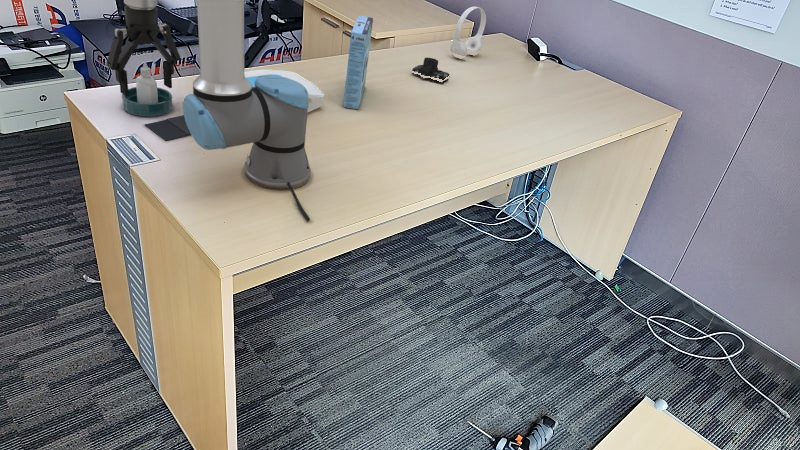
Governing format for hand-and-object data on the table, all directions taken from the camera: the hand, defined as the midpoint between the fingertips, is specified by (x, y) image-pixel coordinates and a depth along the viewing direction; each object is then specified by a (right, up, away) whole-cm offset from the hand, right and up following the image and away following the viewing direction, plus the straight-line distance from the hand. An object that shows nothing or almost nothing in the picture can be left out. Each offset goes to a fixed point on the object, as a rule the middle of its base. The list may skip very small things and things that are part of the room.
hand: (146, 90), depth 159 cm
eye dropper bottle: (-1, -4, +3) cm, 5 cm away
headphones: (+93, +32, +86) cm, 131 cm away
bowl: (-1, -4, +3) cm, 5 cm away
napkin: (+9, -11, -4) cm, 15 cm away
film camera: (+78, +17, +59) cm, 99 cm away
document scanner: (+27, -1, +17) cm, 32 cm away
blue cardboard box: (+52, +5, +32) cm, 62 cm away
